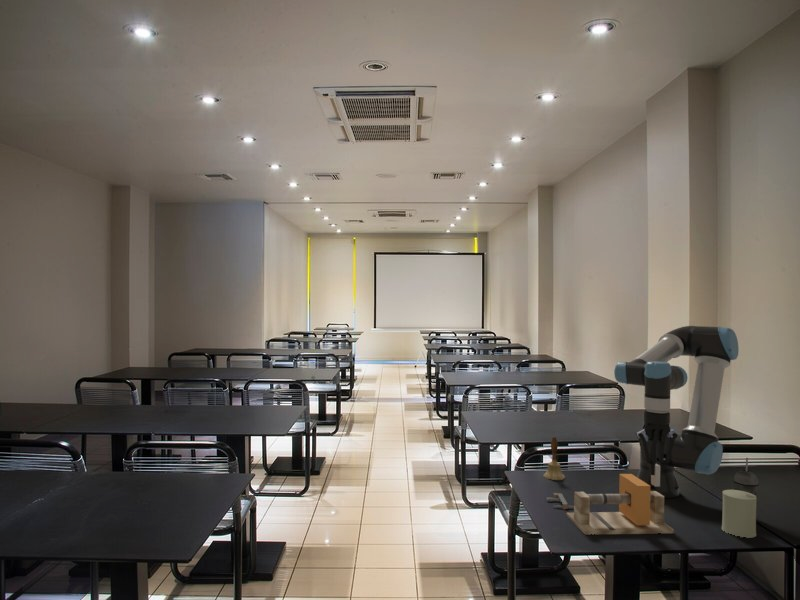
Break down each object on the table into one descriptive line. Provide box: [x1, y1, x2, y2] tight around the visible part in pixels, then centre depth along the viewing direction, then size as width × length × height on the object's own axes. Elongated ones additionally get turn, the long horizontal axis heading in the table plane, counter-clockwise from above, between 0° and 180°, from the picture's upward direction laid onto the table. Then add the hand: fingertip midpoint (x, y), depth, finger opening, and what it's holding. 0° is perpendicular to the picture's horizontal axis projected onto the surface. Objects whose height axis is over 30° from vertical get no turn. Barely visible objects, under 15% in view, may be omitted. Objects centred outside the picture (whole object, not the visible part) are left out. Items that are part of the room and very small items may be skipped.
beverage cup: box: [732, 457, 760, 497], centre depth 187 cm, size 7×7×20 cm
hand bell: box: [543, 436, 566, 481], centre depth 226 cm, size 8×8×16 cm
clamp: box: [546, 492, 574, 510], centre depth 195 cm, size 15×2×10 cm
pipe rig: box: [565, 491, 675, 536], centre depth 179 cm, size 28×15×10 cm, turn 94°
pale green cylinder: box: [721, 489, 757, 539], centre depth 175 cm, size 9×9×12 cm
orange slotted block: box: [618, 473, 650, 525], centre depth 180 cm, size 4×12×12 cm, turn 4°
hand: (655, 485), depth 180 cm, fingers closed
